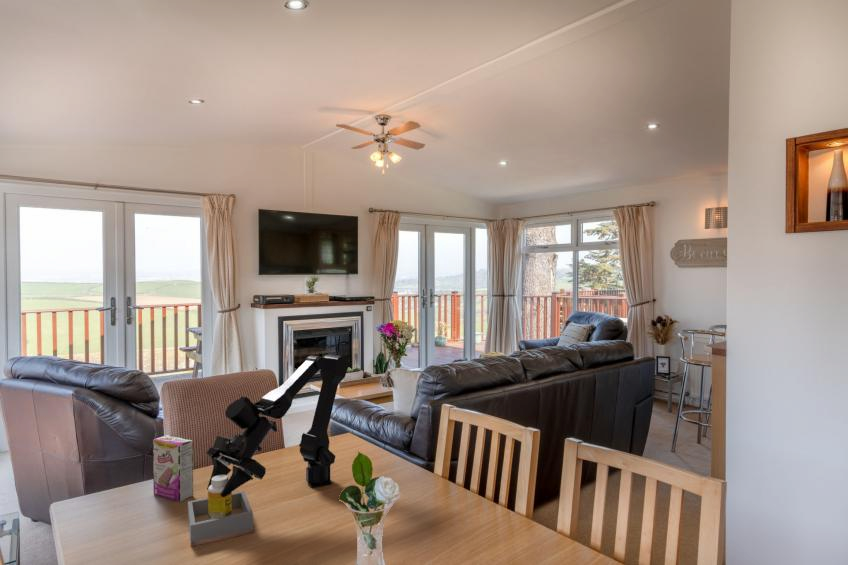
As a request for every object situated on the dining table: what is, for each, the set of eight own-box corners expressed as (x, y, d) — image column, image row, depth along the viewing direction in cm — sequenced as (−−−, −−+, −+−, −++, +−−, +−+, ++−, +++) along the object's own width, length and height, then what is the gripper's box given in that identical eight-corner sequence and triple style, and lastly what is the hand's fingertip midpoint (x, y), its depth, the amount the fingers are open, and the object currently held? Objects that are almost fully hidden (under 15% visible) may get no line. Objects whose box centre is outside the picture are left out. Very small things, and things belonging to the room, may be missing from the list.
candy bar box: (152, 495, 146) (151, 439, 146) (167, 488, 151) (167, 434, 150) (179, 503, 142) (179, 444, 141) (194, 495, 146) (194, 439, 146)
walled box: (244, 509, 138) (244, 490, 138) (252, 532, 126) (252, 512, 126) (187, 520, 132) (187, 501, 131) (190, 546, 119) (190, 525, 119)
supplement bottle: (227, 522, 126) (227, 482, 126) (204, 523, 126) (204, 482, 126) (235, 511, 132) (234, 472, 131) (213, 512, 131) (212, 473, 131)
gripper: (212, 416, 137) (172, 469, 128) (255, 428, 126) (215, 488, 117) (238, 436, 143) (202, 489, 135) (281, 450, 133) (245, 508, 124)
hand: (215, 493), depth 127 cm, fingers closed on supplement bottle, 6 cm apart
